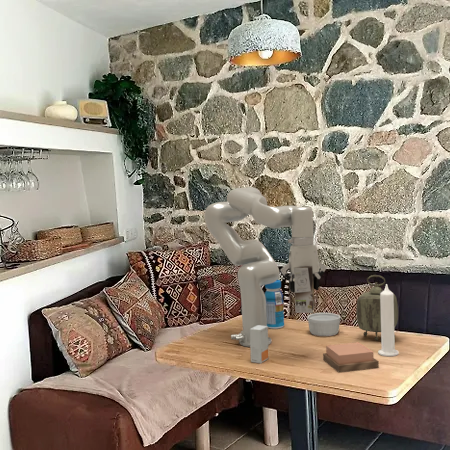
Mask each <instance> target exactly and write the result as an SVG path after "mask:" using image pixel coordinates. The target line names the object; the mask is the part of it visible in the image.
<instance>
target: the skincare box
mask: <svg viewBox="0 0 450 450" xmlns="http://www.w3.org/2000/svg"><path fill="white" fill-rule="evenodd" d="M268 337H269V328H268V326H261V325H257V326H255V327H253V328H251V329H250V347H249V348H250V362H251V363H257V364H262V363H264V362H265V361H267V360H269V359H270V358H269V357H270V355H269V345H268Z"/></svg>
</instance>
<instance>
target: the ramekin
mask: <svg viewBox="0 0 450 450" xmlns="http://www.w3.org/2000/svg"><path fill="white" fill-rule="evenodd" d="M307 321H308V329H309V332H310V333H311V335H313V336H317V337H332V336H335V335H337V334H338V333H339V331H340V325H341V324H340V323H341V316H340V315H339V314H336V313H332V312H315V313H309V315H307Z"/></svg>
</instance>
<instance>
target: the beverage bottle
mask: <svg viewBox="0 0 450 450" xmlns="http://www.w3.org/2000/svg"><path fill="white" fill-rule="evenodd" d="M264 287H265V289H266V291H265V292H264V294H265V298H266V315H267V326H268V329H270V330H271V329H272V330H273V329H275V330H276V329H277V330H278V329H283V328H284V327H285V313H284V312H285V311H284V310H285V309H284V304H285V303H284V302H285V301H284V299H283V298H284V294H283V292H282V290H281V288H282V281H281V280H280V279H277V280H276V281H275V282H273V283H271V284H266V285H264Z"/></svg>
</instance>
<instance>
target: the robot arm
mask: <svg viewBox="0 0 450 450" xmlns="http://www.w3.org/2000/svg"><path fill="white" fill-rule="evenodd" d="M313 212H314V211H313V209H312V207H310V206H297V205H280V206H270V205H268V201H267V198H266V197H265V196H264V195H263V194H262V193H261V191H260V190H259V189H258V188H257V187H254V186H252V187H251V186H250V187H249V186H248V187H236V188H234V189H231V190H230V191H229V192H228V194H227V196H226V201H218V202H214V203H211V204H209V205H208V206H207V207H206V208H205V210H204V222H205V225H206V228H207V230H208V231H209V233H210V234H211V235H212V237H213V238H214V239H215V240H216V241H217V243H218V244H219V247H221V250H223V252H224V254H225V255H226V257H227V258H228V260H229V262H231V263H232V265H234V266H240V267H239V269H238V270H237V281H238V284H239V289H240V300H241V320H242V321H241V323H242V330H240V332H239V333H238V334H237V333H234V334H233V333H232V334H230V338H231V339H230V340H231V341H232V340H235V341H238V343H239V344H240V346H243V347H248V348H250V329H251V328H253V327H255V326H257V325H261V326H267V315H266V298H265V292H264V290H263V289H262V286H265V285H266V284H271V283H273V282H275V281H276V280H279V277H280V272H281V274H282V275H283V277H285V278H286V279H287V281H288V289H289V290H290V292H292V293H295V280H294V268H297V267H305V266H312V268H313V283H314V291H319V288H320V279H321V277H322V276H324V273H325V271H326V270H327V268H328V266H327V265H325V264H324V263H322V262H320V260H319V253H318V248H317V245H316V244H314V217H313V215H314V214H313ZM248 216H252V219H253V220H254V221H255V222H256V223H257V224H259V225H262V226H265V227H267V228H270V229H278V228H279V229H281V228H286V227H291V238H290V239H287V243H288V244H291V245H290V248H289V255H288V263H287V264H286V265H284V266H282V267H281V268H280V269H279V266H278V264H277V263H276V261H275V259H274V258H273V256H272V255H271V253H270V252H269V251H268V249H267V248H266V247H265V245H264V244H263V243H262V242H261V241H259V240H256V239H248V240H244V239H242V237H240V235H239V234H238V232H237V231H236V229H234V228H233V227H232V226H230V225H229V224H227V223H232V222H239V221H242V220H244V219H245V218H247V217H248ZM287 270H288V272H289V274H288V272H287ZM272 341H273V340H272V338H271V337H269V336H268V346H269V345H270V344H272Z"/></svg>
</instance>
